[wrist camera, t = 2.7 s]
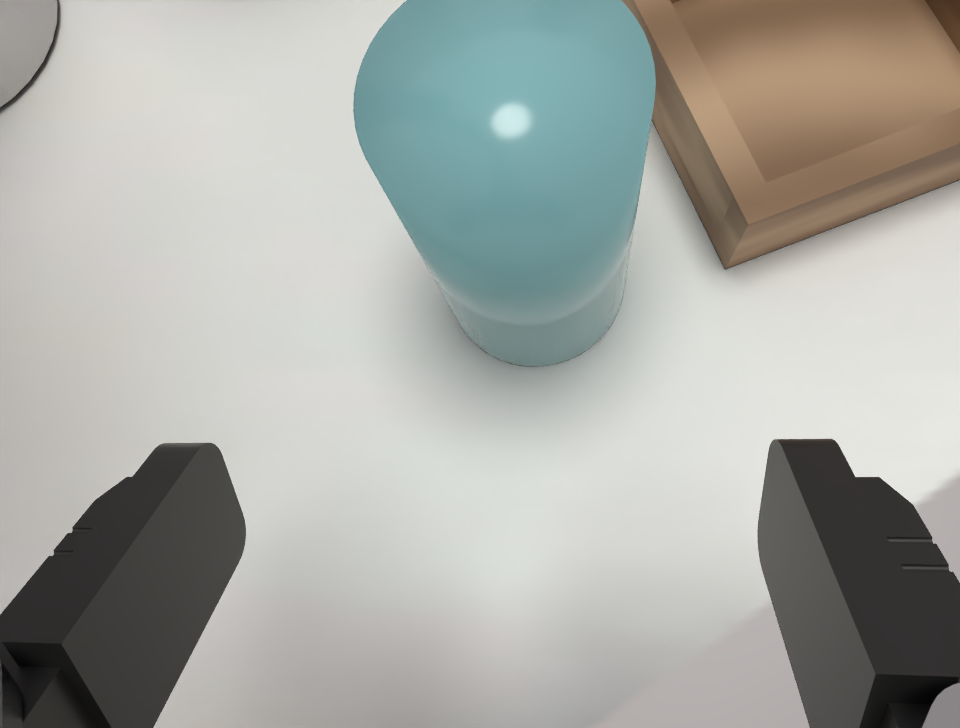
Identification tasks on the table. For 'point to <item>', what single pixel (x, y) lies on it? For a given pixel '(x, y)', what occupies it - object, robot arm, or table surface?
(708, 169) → the tray
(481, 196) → the teal dome-topped cylinder
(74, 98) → the table surface
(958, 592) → the robot arm
